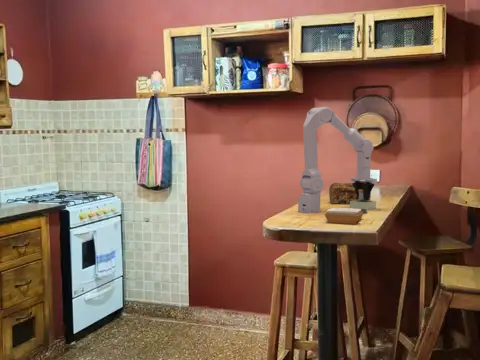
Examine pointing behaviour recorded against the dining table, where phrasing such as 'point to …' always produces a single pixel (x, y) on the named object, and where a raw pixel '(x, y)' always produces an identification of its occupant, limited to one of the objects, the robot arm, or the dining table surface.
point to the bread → (342, 193)
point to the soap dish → (343, 215)
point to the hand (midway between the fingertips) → (363, 199)
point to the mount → (363, 210)
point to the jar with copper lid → (361, 196)
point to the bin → (363, 204)
